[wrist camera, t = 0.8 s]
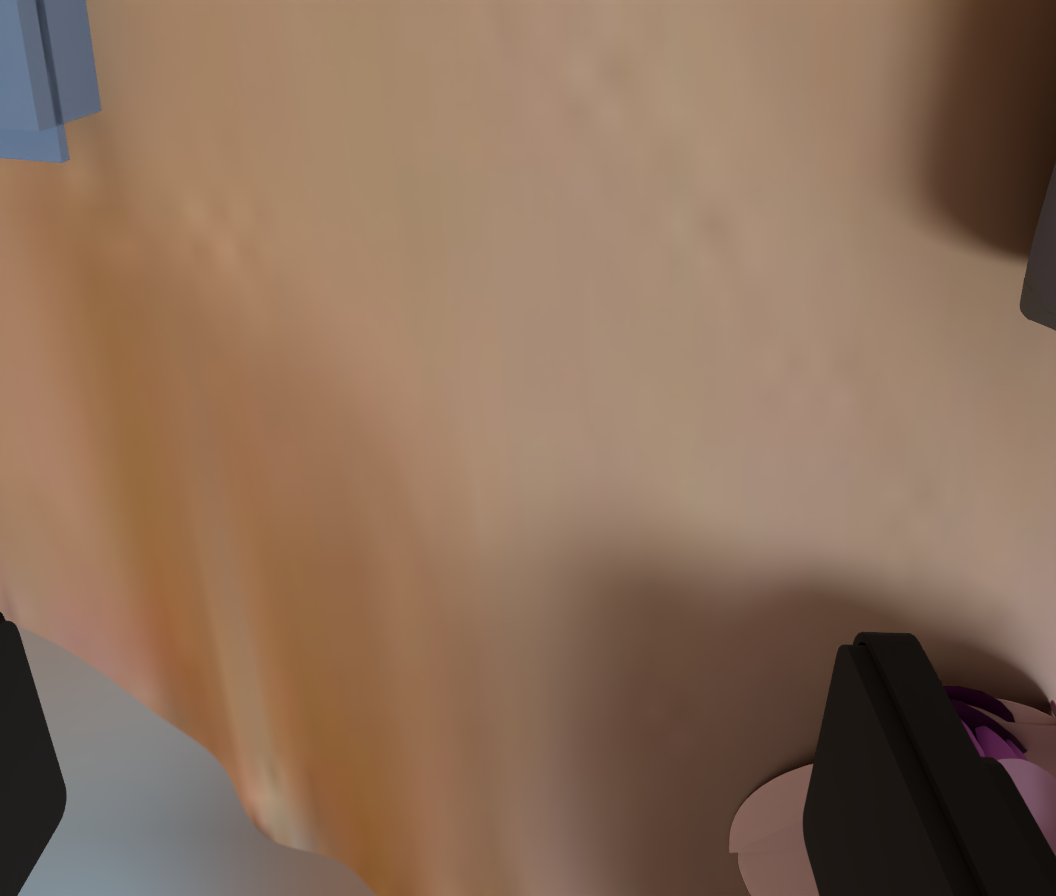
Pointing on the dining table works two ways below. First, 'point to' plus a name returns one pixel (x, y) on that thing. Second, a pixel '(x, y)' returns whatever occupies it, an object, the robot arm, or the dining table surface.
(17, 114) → the servo
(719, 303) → the dining table surface
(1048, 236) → the bluetooth speaker
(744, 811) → the flower arrangement
